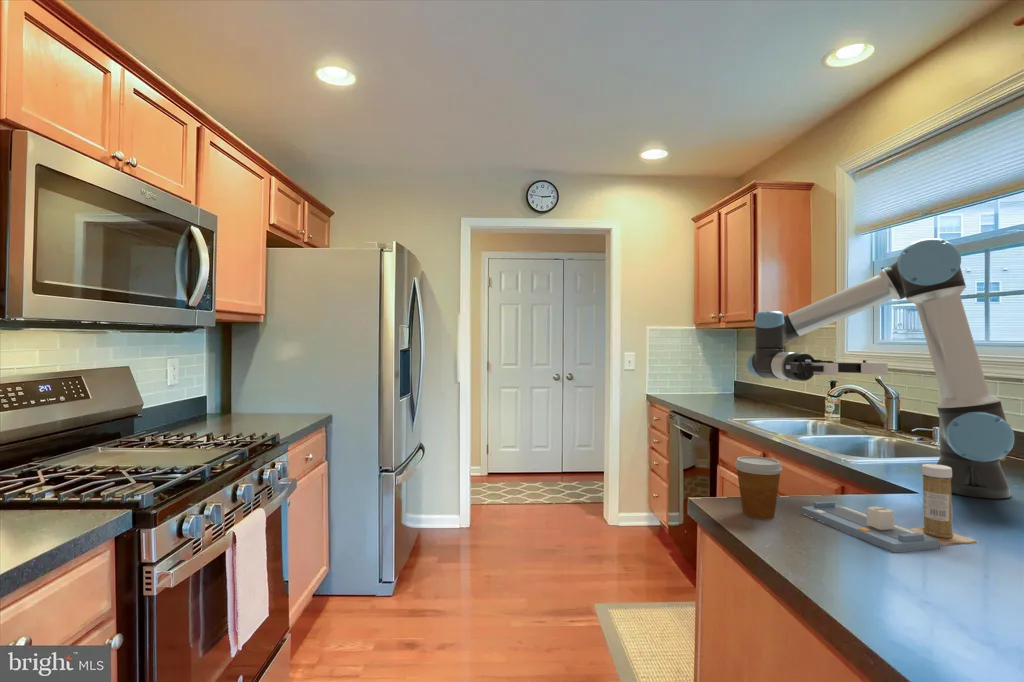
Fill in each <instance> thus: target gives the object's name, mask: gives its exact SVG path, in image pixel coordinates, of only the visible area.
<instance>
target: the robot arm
mask: <svg viewBox="0 0 1024 682" xmlns="http://www.w3.org/2000/svg"><path fill="white" fill-rule="evenodd" d="M897 258H898V259H897V261H896V262H894V263H892V264H890V265H889V266H886V267H884V268H882V269H880V272H879V274H876V275H875V276H873V277H870V278H868V279H866V280H864V281H862V282H860V283H856V284H854V285H852V286H849V287H848V288H846V289H843V290H841V291H839V292H836V293H834V294H831V295H829V296H827V297H825V298H823V299H822V298H821V299H819V300H818V301H815V302H813V303H811V304H807V306H803V307H802V308H799V309H797V310H795V311H793V312H790V313H788V314H786V315H784V313H783V312H782V311H780V310H779V311H778V310H771V311H768V310H767V311H759V312H757V313H756V314H755V318H754V339H755V341H754V342H755V349H754V353H752V354H751V355H750V356H749V358H748V360H747V365H746V367H747V369H748V371H749V373H751V374H752V376H754V377H758V378H763V379H772V380H773V379H775V380H776V379H777V380H784V382H789V381H790V380H791V381H792V380H793V381H799V382H800V381H801V382H805V381H808V380H810V379H812V378H813V377H814V375H815V376H820V375H823V376H825V375H826V376H839V373H848V374H849V373H850V374H851V373H852V374H856V373H857V374H863V375H876V376H877V375H880V376H881V375H882V376H888V374H889V372H888V371H889V363H888V362H885V363H884V362H882V363H881V362H867V360H865V359H864V360H863V359H862V362H835V361H834V360H822V359H814V357H813V356H812V355H811V354H809V353H807V352H790V351H789V352H787V351H785V344H787V343H788V342H789V341H792V340H794V339H797V338H799V337H801V336H804V335H806V334H809V333H811V332H814V331H817V330H818V329H821V328H824V327H826V326H828V325H831V324H833V323H836V322H839V321H840V320H843V319H846V318H848V317H851V316H853V315H856V314H857V313H860V312H863V311H866V310H868V309H870V308H873V307H875V306H877V305H880V304H882V303H885V302H888V301H889V300H893V299H894V300H896V301H897V300H898V301H899V300H902V299H904V298H906V300H907V301H908V302H910V303H913V304H914V305H915V306H916V309H917V313H918V316H919V321H920V324H921V328H922V331H923V334H924V337H925V340H926V341H925V342H926V345H927V349H928V352H929V355H930V356H929V357H930V359H931V363H932V366H933V369H934V373H935V376H936V380H937V384H938V387H939V391H940V395H941V400H940V401H939V402H938V404H936V408H937V412H938V418H939V419H938V422H939V426H938V427H939V428H938V429H939V459H938V461H937V463H936V464H937V465H944V466H948V467H951V468H952V477H951V494H954V493H955V495H960V496H965V497H972V498H973V497H974V498H979V499H980V498H982V499H1008V498H1010V497H1011V488H1010V485H1009V483H1008V480H1007V478H1006V476H1005V473H1004V471H1003V468H1002V466H1001V462H1000V461H1001V459H1002V458H1004V457H1006V455H1007V456H1008V454H1009V453H1010V452H1011V451H1012V449H1013V447H1014V445H1015V432H1014V430H1013V428H1012V427H1011V425H1010V424H1009V423H1008V422H1007V418H1006V415H1005V412H1004V409H1003V405H1002V401H1001V399H1000V398H998V397H997V396H995V395H993V394H991V393H990V392H989V388H988V385H987V382H986V378H985V375H984V372H983V368H982V364H981V361H980V359H979V355H978V352H977V348H976V344H975V341H974V338H973V337H974V336H973V335H972V331H971V328H970V324H969V321H968V318H967V314H966V311H965V308H964V304H963V302H962V298H961V294H962V293H963V291H965V289H966V288H967V284H966V282H965V278H964V275H963V271H962V267H961V265H962V264H961V263H962V256H961V254H960V252H959V249H957V247H956V246H955V245H954V244H953V243H951V242H949V241H947V240H945V239H942V238H934V237H933V238H929V237H928V238H922V239H919V240H917V241H914V242H912V243H911V244H909V245H908V246H905V248H904V249H903V250H902V251H901V252H900V254H899V256H898V257H897Z"/></svg>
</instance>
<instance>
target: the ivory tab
mask: <svg viewBox="0 0 1024 682" xmlns="http://www.w3.org/2000/svg"><path fill="white" fill-rule="evenodd" d="M866 514H867V525H869V526H871V527H874V528H877V529H879V530H887V529H894V524H895V511H894V510H892V509H889V508H886V507H882V506H870V507H866Z"/></svg>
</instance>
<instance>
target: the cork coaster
mask: <svg viewBox="0 0 1024 682" xmlns="http://www.w3.org/2000/svg"><path fill="white" fill-rule="evenodd" d="M908 529H909V530H912V531H915V532H918V533H921V534H924V535H926V536H929V537H932V538H934V539H937V540H939V546H951V545H954V544H955V545H963V544H966V545H967V544H975V543H976V544H977V543H978V541H977V540H975V539H973V538H969V537H966V536H964V535H960V534H958V533H955V532H952V533H953V537H951V538H940V537H935V536H931V535H928V534H926V533H925V532H924V531H923V529H924V526H923V527H911V528H908Z"/></svg>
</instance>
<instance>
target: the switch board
mask: <svg viewBox="0 0 1024 682" xmlns="http://www.w3.org/2000/svg"><path fill="white" fill-rule="evenodd" d="M800 509H801V513H803V514H806V515H808V516H810V517H813V518H815V519H817V520H816V521H818V520H820V521H822V522H824V523H823V524H825V523H826V524H825V525H827V524H829V525H828V526H830V525H831V526H830V527H832V526H834V527H836V528H835V529H837V528H838V529H837V530H839V529H841V530H843V531H842V532H844V531H845V532H844V533H846V532H847V533H846V534H849V533H850V534H849V535H851V534H852V535H851V536H853V535H854V536H853V537H856V538H858V537H859V538H858V539H860V538H861V539H860V540H863V541H865V540H866V542H868V541H869V542H868V543H870V542H871V544H872V543H874V544H873V545H875V544H876V545H875V546H877V545H878V546H877V547H879V546H880V547H879V548H882V547H883V548H882V549H884V548H885V549H884V550H887V551H889V550H890V551H889V552H891V551H892V553H903V551H904V552H913V551H914V550H916V551H924V550H925V551H926V550H934V549H935V550H936V549H937V548H938V549H940V544H939V540H937V539H934V538H932V537H929V536H926V535H924V534H921V533H918V532H915V531H912V530H909V528H906V527H903V526H901V525H898V524H895V523H894V529H887V530H879V529H877V528H874V527H871V526H869V525H867V513H864V512H862V511H859V510H857V509H854V508H851V507H847V506H845V505H843V504H836V502H834V501H813V505H812V506H811V505H810V506H801V508H800ZM803 514H802V515H803ZM806 515H805V516H806ZM808 516H807V517H808ZM810 517H809V518H810ZM813 518H812V519H813ZM815 519H814V520H815ZM820 521H819V522H820ZM822 522H821V523H822ZM834 527H833V528H834ZM841 530H840V531H841ZM901 551H902V552H901Z"/></svg>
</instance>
